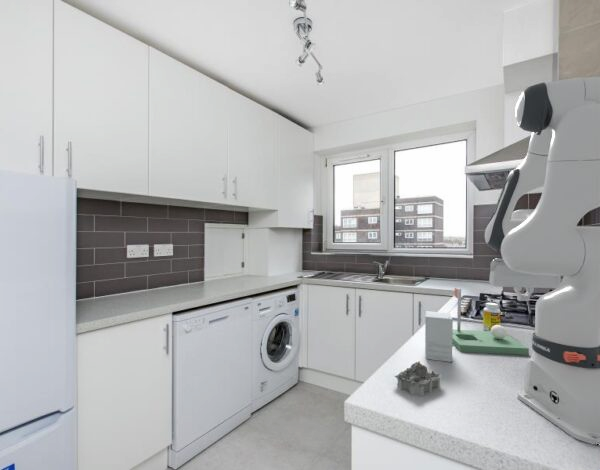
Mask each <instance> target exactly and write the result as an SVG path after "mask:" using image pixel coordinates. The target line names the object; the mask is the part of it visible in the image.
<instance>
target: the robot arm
mask: <svg viewBox="0 0 600 470" xmlns="http://www.w3.org/2000/svg"><path fill="white" fill-rule="evenodd" d="M514 114H515V115H514V116H515V120H516V123H517V126H518V127H519V128H520V129H522V130H523V131H526V132H530V133H531V136H530V140H529V144H528V148H527V153H526V156H525V158H523V161H522V162H521V163H520V165H518V167H516V168H514V169H513V170H511V171H510V172H509V173H508V176H507V177H506V179H505V182H504V184H503V187H502V189H501V192H500V194H499V196H498V199H497V202H496V205H495V207H494V210H493V213H492V216H491V217H490V219H489V221H488V223H487V226H486V228H485V231H484V241H485V244H486V245H487V247H489V248H491V249H492V250H493V251H495V252H500V254H501V258H495V259H493V260H492V261H491V262H490V264H489V265H490V267H489V268H490V271H489V280H488V281H489V284H490V285H491V286H493V287H496V288H497V287H499V288H500V287H503V288H508V287H509V288H513V291H514V292H515V294H516V299H517V301H519V302H524V301H525V302H529V301H530V298H531V297H530V296H532V294H533V292H534V291H535V289H537V288H539V289H541V288H542V289H553V290H552V291H548V292H546V293H544V294H542V295H541V296H539V298H538V299H537V300H536V302H535V306H534V307H535V308H534V309H535V317H534V320H535V321H534V332H533V333H532V337H531V348H532V350H533V352H532V355H531V356H530V357H529V359H528V360H527V362H526V365H525V374H524V379H523V389H522V390H520V391H518V393H517V399H518V400H520V401H522V402H523V403H524V404H526V405H527V406H528V407H530V408H531V409H532V410H534V411H535V412H537V413H538V414H540V415H541V416H542V417H544V418H545V419H547V420H548V421H550V422H551V423H552V424H554V425H555V426H557V427H558V428H559V429H561V430H562V431H564V432H566V433H567V434H568V435H570V436H571V437H573V438H575V439H577V440H579V441H581V442H585V443H588V444H592V445H595V444H596V445H597V444H600V226H594V225H593V226H591V225H590V226H586V225H585V226H582V225H580V226H578V224H579V222H580V221H581V219H582V218H583V217H584V216H585V215H586V214H587V213H588V212H591V211H593V210H595V209H597V208H600V76H590V77H581V76H578V77H573V78H566V79H560V80H555V81H552V82H547V83H546V82H540V83H535V84H533V85H530V86H528V87H526V88H525V89H524V91H522V93H521V95H520V96H519V99H518V100H517V103H516V105H515V113H514ZM540 188H542V192H541V196H540V198H539V200H538V203H537V205H536V207H535V208H521V209H516V210H515V207H516V205H517V202H518V201H519V199H520V198H521V197H523V196H524V195H525V194H527V193H529V192H532V191H534V190H536V189H540ZM514 210H515V211H514ZM522 288H525V290H526V291H525V292H524V294H523V293H522V292H521V291H522ZM597 446H598V445H597Z"/></svg>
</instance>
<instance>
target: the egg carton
mask: <svg viewBox="0 0 600 470" xmlns="http://www.w3.org/2000/svg"><path fill="white" fill-rule="evenodd" d="M394 377H395V378H396V379H397V388H398V389H399V388H400V389H399V390H407V389H408V390H407V391H409V390H410V391H409V394H410V395H412V396H419V395H420V396H421V397H423V396H424V395H425V392H428V391H429V392H428V393H430V391H431V392H432V391H433V388H437V389H438V388H440V387H441V377H443V375H442V374H440V373H439V372H437V373H436V372H435V371H434V370H431V372H430V371H429V370H428V368H427V366H426V365H424V364H422V363H421V361H415V362H414V363H412V364H411V365H410V367H406V369H405V370H402V371H401V372H399V373H398V374H397V375H394ZM424 377H425V378H424ZM420 378H424V379H422V380H420ZM425 379H426V380H427V381H426V380H425ZM420 396H419V397H420Z"/></svg>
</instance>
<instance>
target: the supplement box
mask: <svg viewBox="0 0 600 470" xmlns="http://www.w3.org/2000/svg"><path fill="white" fill-rule="evenodd" d="M424 321H425V322H424V323H425V325H424V326H425V327H424V328H425V333H424V335H425V338H424V339H425V342H424V343H425V345H424V350H425V351H424V352H425V359H427V360H435V361H441V362H449V363H452V362H453V344H452V331H453V330H454V329H453V326H454V325H453V322H454V320H453V317H452V314H451V312H442V311H441V312H440V311H438V312H437V311H431V310H430V311H429V310H426V311H425V319H424Z"/></svg>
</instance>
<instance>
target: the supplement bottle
mask: <svg viewBox="0 0 600 470" xmlns="http://www.w3.org/2000/svg"><path fill="white" fill-rule="evenodd" d="M482 313H483V315H482V316H483V317H482V318H483V319H482V328H483V329H482V330H483V331H491V328H492V327H493V326H495V325H500V326H501V309H499V304H498V303H495V302H486V303H485V307H484V308H483V311H482Z"/></svg>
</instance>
